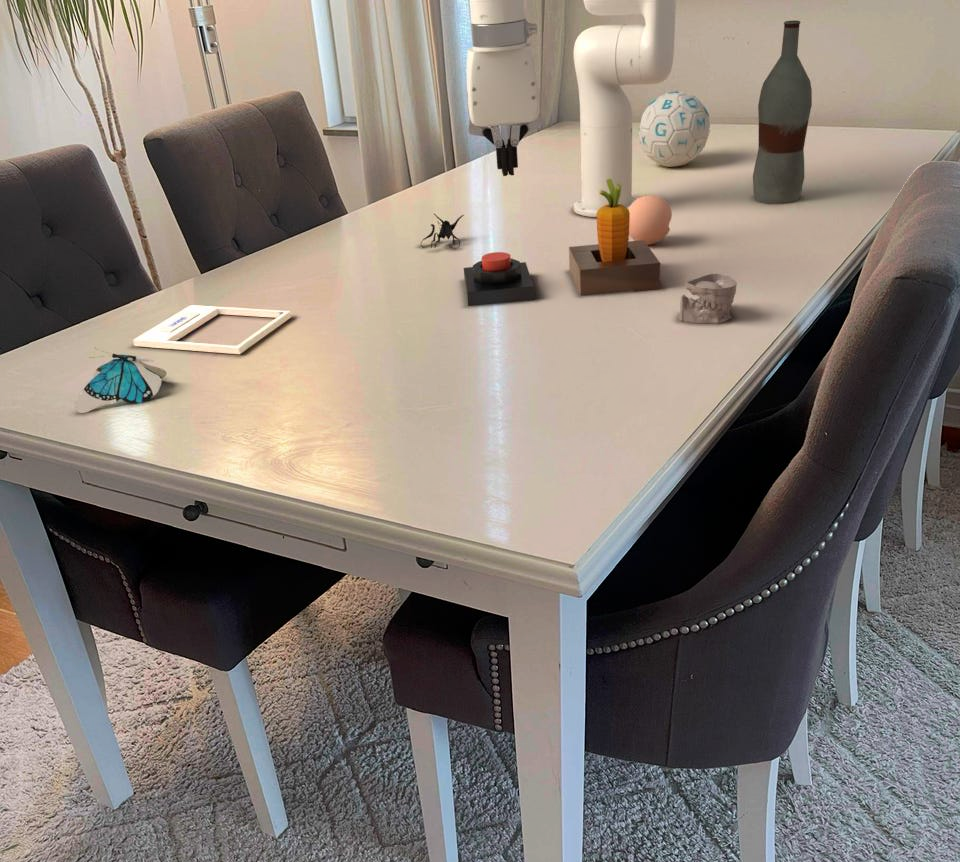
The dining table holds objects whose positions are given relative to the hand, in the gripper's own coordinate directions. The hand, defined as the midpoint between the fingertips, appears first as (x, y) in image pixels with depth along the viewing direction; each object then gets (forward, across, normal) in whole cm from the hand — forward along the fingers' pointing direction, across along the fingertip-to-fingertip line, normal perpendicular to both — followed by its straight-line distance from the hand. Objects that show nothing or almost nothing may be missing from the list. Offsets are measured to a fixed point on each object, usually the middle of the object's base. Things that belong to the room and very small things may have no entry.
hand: (507, 173), depth 141 cm
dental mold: (+17, -25, +21) cm, 37 cm away
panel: (+17, +3, +2) cm, 17 cm away
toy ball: (+17, -24, -15) cm, 33 cm away
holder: (+17, -15, +2) cm, 23 cm away
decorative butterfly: (+16, +54, +30) cm, 63 cm away
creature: (+17, +11, -24) cm, 32 cm away
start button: (+13, +3, +2) cm, 14 cm away
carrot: (+17, -15, +2) cm, 23 cm away
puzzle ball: (+18, -41, -70) cm, 83 cm away
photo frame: (+16, +46, +10) cm, 50 cm away
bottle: (+18, -53, -36) cm, 66 cm away
